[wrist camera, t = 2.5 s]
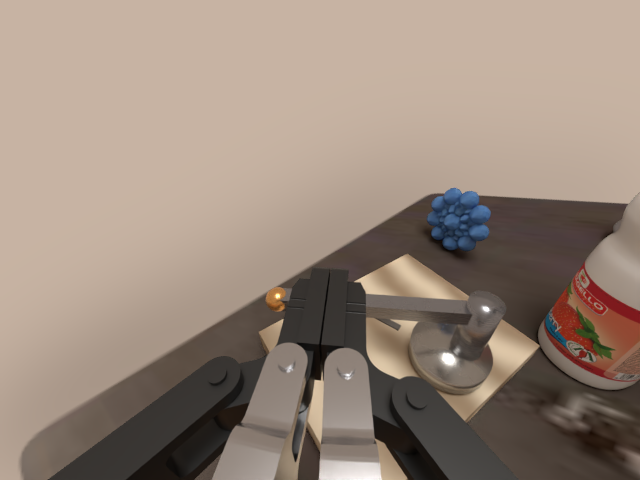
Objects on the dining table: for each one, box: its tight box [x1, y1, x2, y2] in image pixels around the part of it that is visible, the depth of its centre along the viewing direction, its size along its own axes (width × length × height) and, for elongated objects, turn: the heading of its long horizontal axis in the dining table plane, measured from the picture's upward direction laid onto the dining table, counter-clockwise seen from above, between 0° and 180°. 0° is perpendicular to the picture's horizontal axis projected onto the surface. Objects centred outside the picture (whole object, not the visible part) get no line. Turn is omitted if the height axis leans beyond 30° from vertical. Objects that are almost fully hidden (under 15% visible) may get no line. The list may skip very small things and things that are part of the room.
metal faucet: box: [266, 287, 506, 394], centre depth 29 cm, size 23×8×9 cm, turn 83°
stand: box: [259, 254, 540, 480], centre depth 34 cm, size 26×20×3 cm
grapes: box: [427, 188, 491, 251], centre depth 48 cm, size 12×7×12 cm, turn 26°
